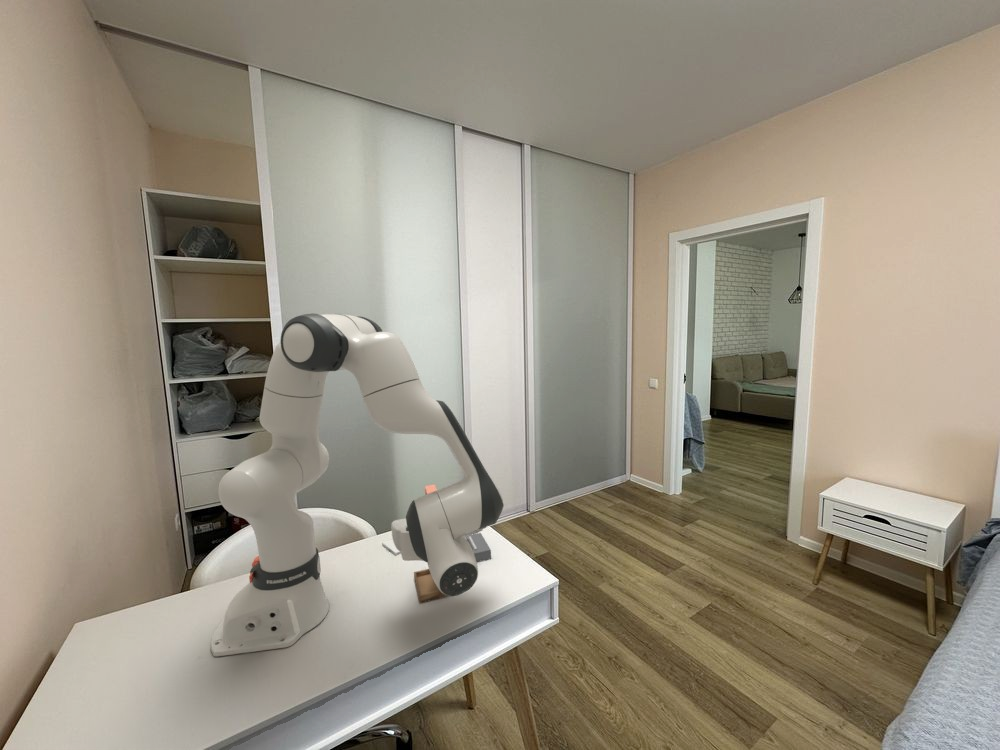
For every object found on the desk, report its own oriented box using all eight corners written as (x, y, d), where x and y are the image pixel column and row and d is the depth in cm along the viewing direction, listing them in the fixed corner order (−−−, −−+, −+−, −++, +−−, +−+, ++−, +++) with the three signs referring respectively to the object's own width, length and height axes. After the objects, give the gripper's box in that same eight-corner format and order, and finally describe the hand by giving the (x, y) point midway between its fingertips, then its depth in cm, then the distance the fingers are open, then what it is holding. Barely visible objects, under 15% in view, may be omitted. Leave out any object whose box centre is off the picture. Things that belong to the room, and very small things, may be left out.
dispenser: (448, 568, 106) (447, 557, 106) (441, 549, 116) (440, 539, 115) (491, 558, 110) (490, 548, 110) (481, 541, 119) (480, 531, 119)
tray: (419, 603, 93) (418, 596, 93) (414, 578, 102) (413, 572, 102) (461, 592, 96) (460, 585, 96) (452, 569, 106) (452, 563, 105)
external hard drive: (432, 541, 122) (395, 557, 113) (418, 531, 128) (382, 547, 119) (432, 536, 122) (395, 552, 113) (418, 527, 128) (381, 542, 119)
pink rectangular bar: (431, 550, 95) (427, 493, 94) (428, 539, 100) (424, 486, 98) (442, 547, 96) (438, 491, 95) (438, 537, 101) (434, 484, 99)
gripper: (488, 514, 88) (472, 491, 101) (392, 533, 81) (388, 506, 95) (490, 541, 89) (473, 515, 102) (395, 562, 82) (391, 531, 95)
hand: (432, 511), depth 98 cm, fingers closed on pink rectangular bar, 2 cm apart
